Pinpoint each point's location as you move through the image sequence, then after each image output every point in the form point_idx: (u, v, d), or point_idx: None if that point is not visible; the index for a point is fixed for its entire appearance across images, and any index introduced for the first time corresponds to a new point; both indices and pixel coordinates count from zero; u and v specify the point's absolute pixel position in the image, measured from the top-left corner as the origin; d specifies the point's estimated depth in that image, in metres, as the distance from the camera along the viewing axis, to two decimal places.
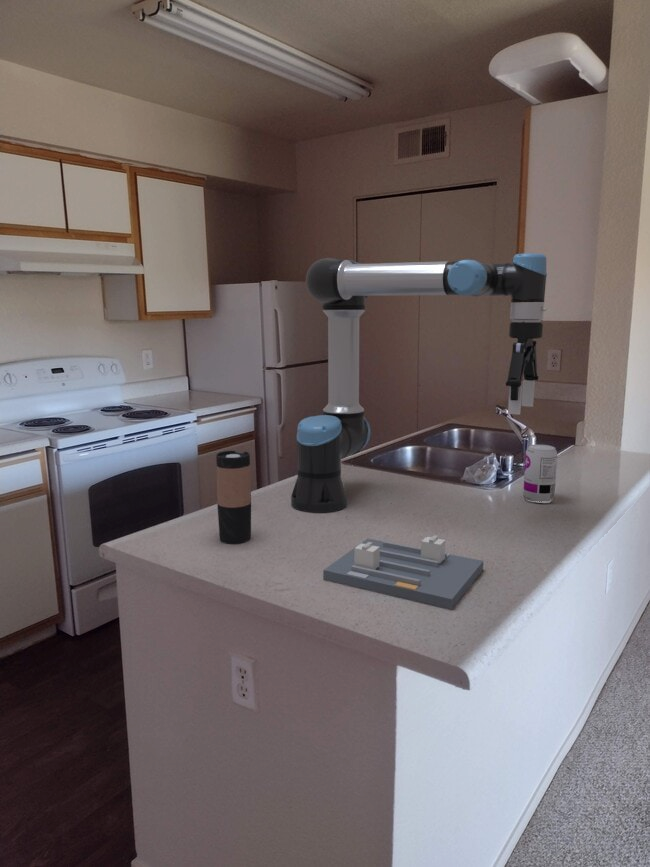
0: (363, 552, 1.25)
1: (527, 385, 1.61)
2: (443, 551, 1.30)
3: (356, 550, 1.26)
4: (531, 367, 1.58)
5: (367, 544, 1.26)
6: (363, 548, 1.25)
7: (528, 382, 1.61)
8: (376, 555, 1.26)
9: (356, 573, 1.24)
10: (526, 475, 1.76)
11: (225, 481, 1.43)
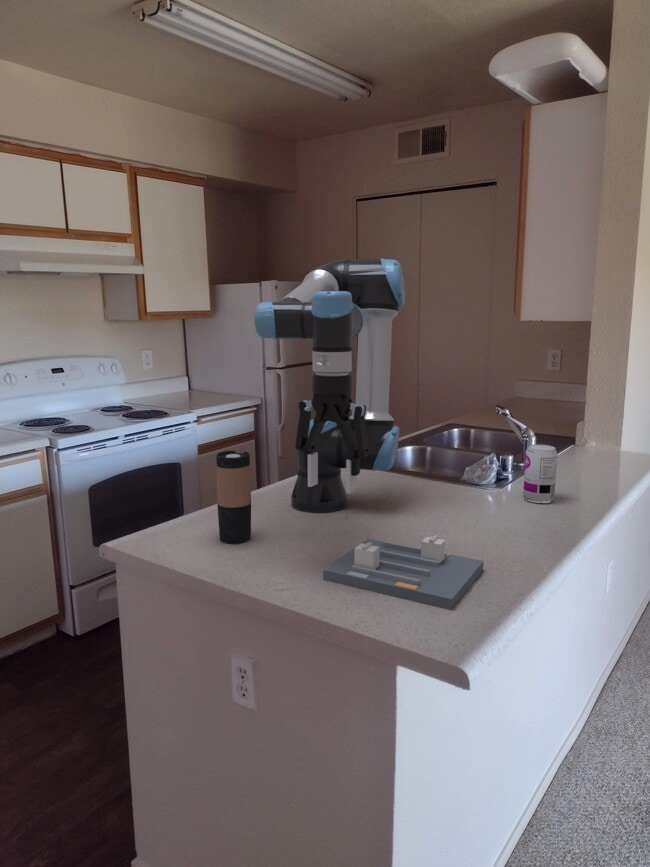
0: (363, 552, 1.25)
1: None
2: (443, 551, 1.30)
3: (356, 550, 1.26)
4: None
5: (367, 544, 1.26)
6: (363, 548, 1.25)
7: None
8: (376, 555, 1.26)
9: (356, 573, 1.24)
10: (526, 475, 1.76)
11: (225, 481, 1.43)
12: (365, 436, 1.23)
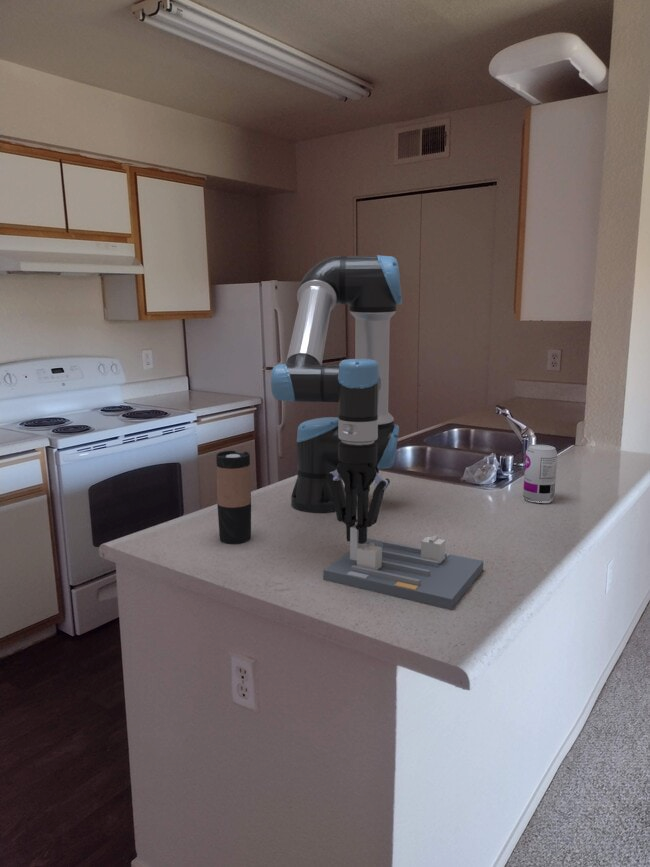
0: (365, 552, 1.25)
1: None
2: (443, 551, 1.30)
3: (358, 550, 1.26)
4: None
5: (369, 544, 1.26)
6: (365, 548, 1.25)
7: None
8: (378, 555, 1.25)
9: (356, 573, 1.24)
10: (526, 475, 1.76)
11: (225, 481, 1.43)
12: (378, 508, 1.24)
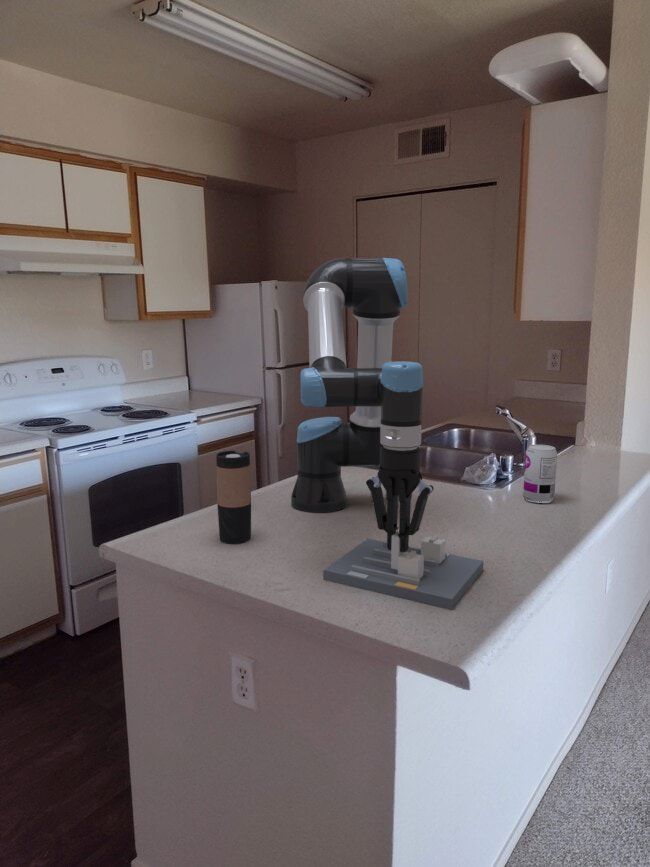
0: (407, 561, 1.21)
1: None
2: (443, 551, 1.30)
3: (400, 559, 1.22)
4: None
5: (411, 553, 1.22)
6: (407, 557, 1.21)
7: None
8: (421, 564, 1.21)
9: (356, 573, 1.24)
10: (526, 475, 1.76)
11: (225, 481, 1.43)
12: (421, 515, 1.20)
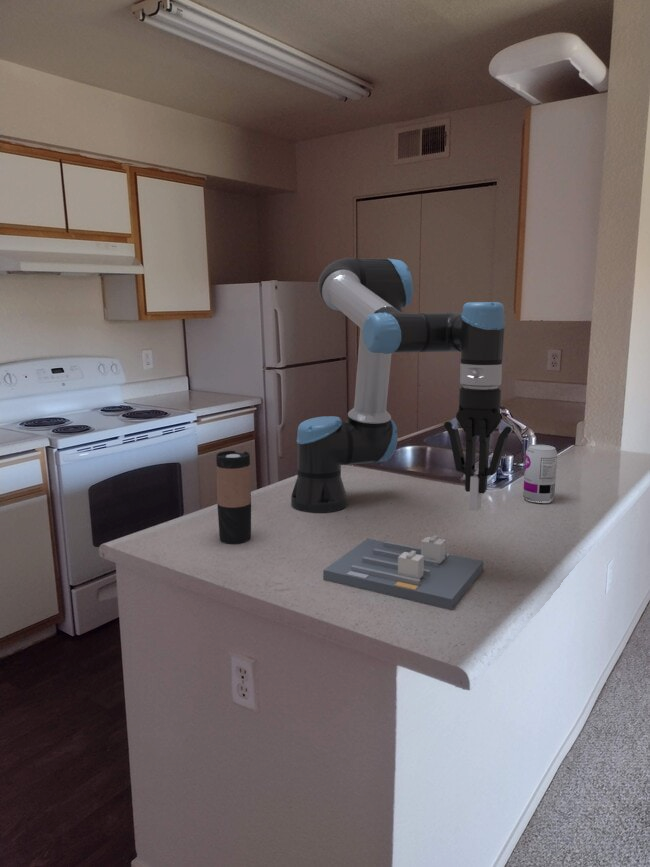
0: (407, 561, 1.21)
1: None
2: (443, 551, 1.30)
3: (400, 559, 1.22)
4: None
5: (411, 553, 1.22)
6: (407, 557, 1.21)
7: None
8: (421, 564, 1.21)
9: (356, 573, 1.24)
10: (526, 475, 1.76)
11: (225, 481, 1.43)
12: (501, 455, 1.21)
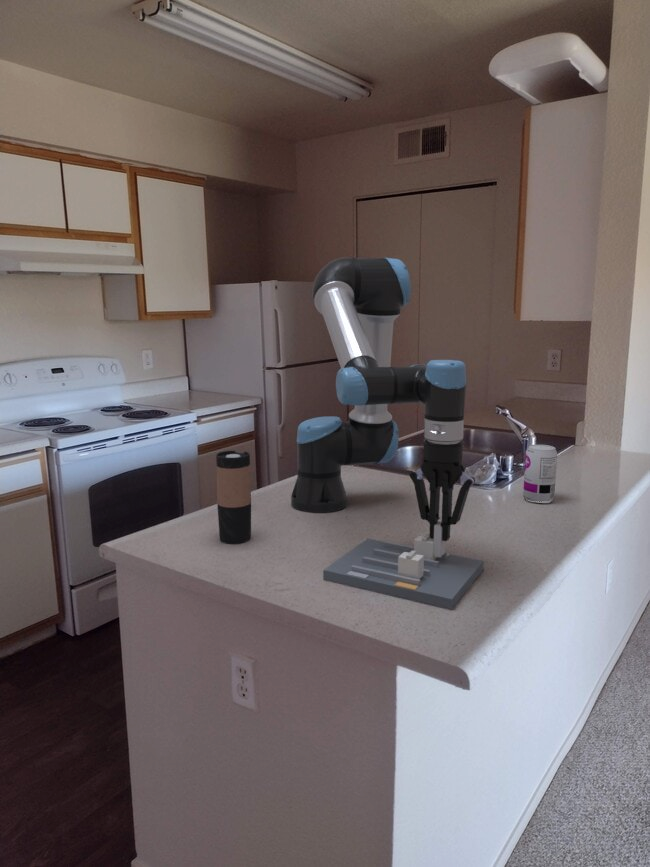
0: (407, 561, 1.21)
1: None
2: None
3: (400, 559, 1.22)
4: None
5: (411, 553, 1.22)
6: (407, 557, 1.21)
7: None
8: (421, 564, 1.21)
9: (356, 573, 1.24)
10: (526, 475, 1.76)
11: (225, 481, 1.43)
12: (463, 506, 1.26)
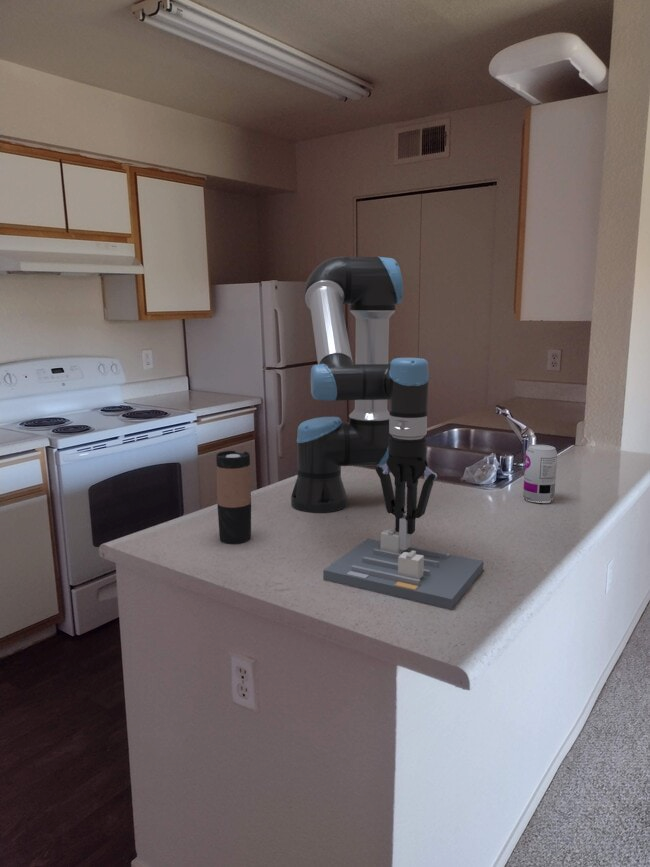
0: (407, 561, 1.21)
1: None
2: None
3: (400, 559, 1.22)
4: None
5: (411, 553, 1.22)
6: (407, 557, 1.21)
7: None
8: (421, 564, 1.21)
9: (356, 573, 1.24)
10: (526, 475, 1.76)
11: (225, 481, 1.43)
12: (427, 500, 1.30)
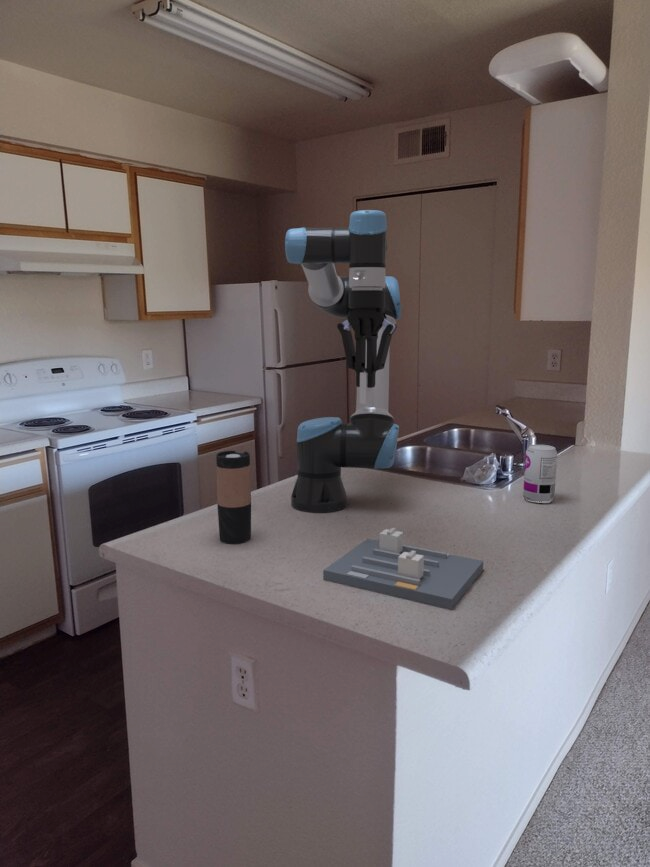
0: (407, 561, 1.21)
1: None
2: (401, 543, 1.35)
3: (400, 559, 1.22)
4: None
5: (411, 553, 1.22)
6: (407, 557, 1.21)
7: None
8: (421, 564, 1.21)
9: (356, 573, 1.24)
10: (526, 475, 1.76)
11: (225, 481, 1.43)
12: (386, 352, 1.34)
